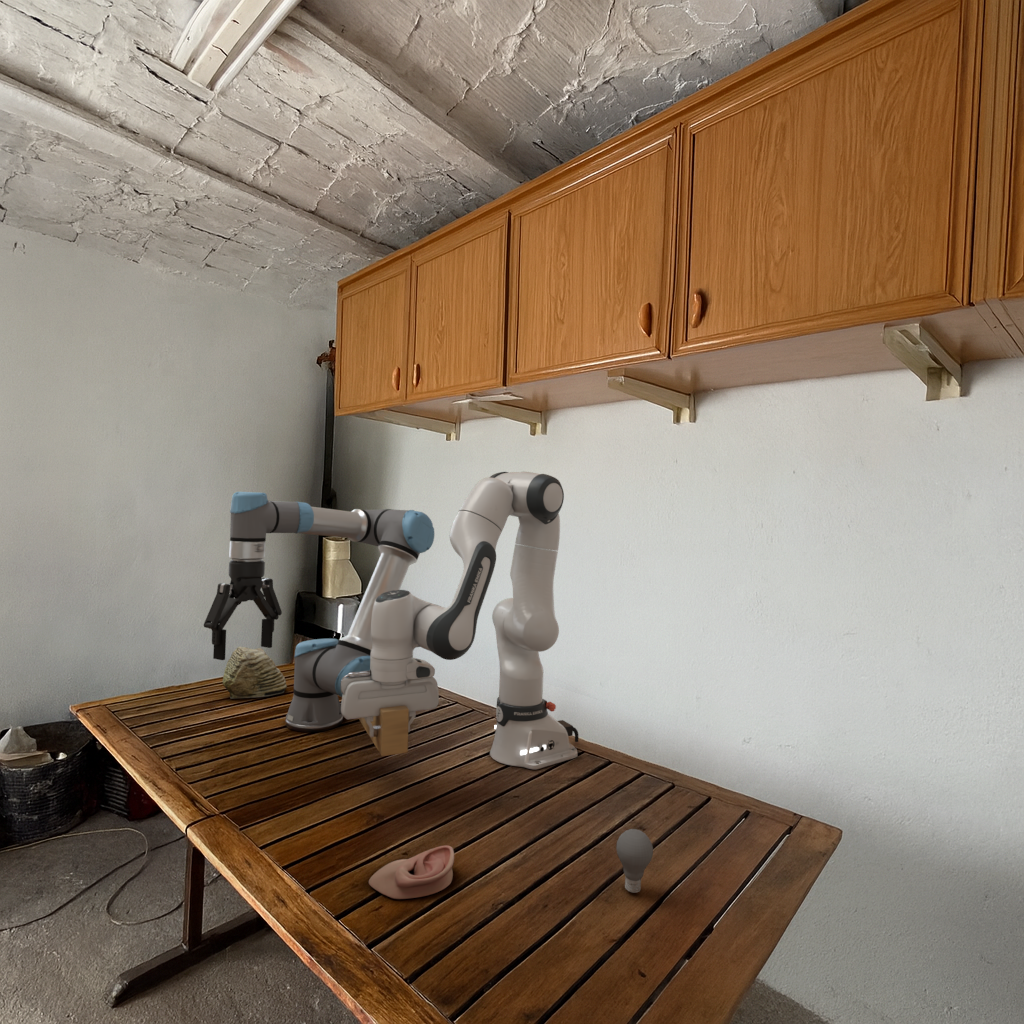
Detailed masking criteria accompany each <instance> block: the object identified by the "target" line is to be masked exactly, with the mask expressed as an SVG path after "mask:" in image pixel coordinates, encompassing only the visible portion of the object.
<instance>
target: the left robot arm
mask: <svg viewBox="0 0 1024 1024" xmlns="http://www.w3.org/2000/svg"><path fill="white" fill-rule="evenodd" d="M229 513H230V522H229V523H230V527H229V528H230V529H229V537H230V538H229V552H228V558H230V559H231V560H229V562H228V577H229V578H230V582H229V583H222V582H220V583H219V582H218V584H217V588H216V594H215V597H214V598H213V602H212V604H211V606H210V609H209V611H208V613H207V615H206V618H205V620H204V623H203V627H204V628H207V629H210V630H211V644H212V645H213V653H212V654H213V657H212V659H214V660H219V661H225V660H226V645H227V629H224V628H225V626H226V625H227V623H228V622H229V620H230V618H231V616H233V614H234V612H235V611H236V609H237V608H238V606H239V605H241V604H242V603H244V602H245V603H246V602H248V601H253V602H254V604H255V605H256V607H257V608H258V610H259V611H260V612H261V614H262V615H263V616H264V618H262V619H261V635H260V647H262V648H268V649H271V648H273V633H274V632H275V620H278V619H279V616H281V615H282V613H283V612H282V611H283V610H282V609H281V606H280V603H279V600H278V597H277V595H276V592H275V591H276V590H275V589H274V580H273V578H268V577H264V576H265V569H266V567H265V566H266V562H265V561H264V559H265V558H266V541H267V534H295V535H296V534H303V535H315V536H326V537H337V538H347V539H348V540H349V541H351V542H354V543H362V544H366V545H371V546H375V547H377V549H378V551H379V553H380V556H379V558H378V560H377V562H376V565H375V568H374V569H373V573H372V575H371V577H370V579H369V581H368V585H367V587H366V589H365V592H364V593H363V596H362V599H361V600H360V602H359V603H360V604H359V606H358V609H357V611H356V613H355V615H354V618H353V620H352V623H351V625H350V628H349V630H348V632H347V634H346V635H345V636H342V637H341V638H339V639H337V638H317V639H316V638H315V639H308V640H304V641H300V642H299V643H298V644H297V645H296V646H295V650H294V655H293V657H294V672H293V673H294V674H293V695H292V696H293V697H292V699H291V702H290V704H289V708H288V711H287V713H286V715H285V726H286V728H287V729H289V730H291V731H294V732H295V731H296V732H301V733H316V732H325V731H329V730H332V729H335V728H337V727H339V726H340V725H342V723H343V722H344V716H343V715H342V713H341V701H340V699H339V697H340V698H342V695H343V693H342V692H341V680H342V678H343V677H344V676H346V675H348V673H350V672H361V671H369V670H370V653H371V650H372V645H373V642H372V637H371V619H372V610H373V605H374V602H375V600H376V598H377V597H378V596H379V595H381V594H382V593H385V592H388V591H393V590H401V588H402V585H403V582H404V580H405V577H406V575H407V572H408V570H409V568H410V566H411V565H414V564H416V563H417V561H418V559H419V557H420V554H423V553H426V552H427V551H429V550H430V549H431V548H432V547H433V544H434V541H435V528H434V525H433V521H432V519H431V517H430V516H429V515H427V514H426V513H424V512H423V511H417V510H414V509H409V510H408V509H407V510H406V509H392V508H379V509H378V508H377V509H376V508H375V509H360V508H354V509H353V510H351V511H349V510H340V509H333V508H326V507H319V506H318V507H316V506H311V504H310V503H308V502H305V501H303V502H302V501H283V500H281V501H280V500H269V499H268V494H267V493H266V492H257V491H256V492H255V491H252V492H251V491H235V492H234V493H233V494H232V496H231V503H230V510H229ZM346 678H349V677H346Z"/></svg>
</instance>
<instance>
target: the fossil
mask: <svg viewBox="0 0 1024 1024" xmlns="http://www.w3.org/2000/svg"><path fill="white" fill-rule="evenodd" d="M222 676H223V677H222V685H223V687H224V688H225V690H226V691H228V693H229V698H230V699H250V698H264V697H271V696H275V695H281V694H284V693H285V691H286V689H287V687H288V686H287V680H286V678H285V676H284V674H283V673H282V672H281V669H279V668H278V667H277V665H276V663H275V662H274V660H273V659H272V658H271V657H270V656H269V655H268V654H267V653H266V652H265V650H264V649H263V648H260V647H258V648H251V647H247V646H246V647H245V646H238V647H237V648H236V649H235V650H233V651H232V653H231V656H230V657H229V659H228V660H227V663H226V666H225V668H224V671H223V675H222Z"/></svg>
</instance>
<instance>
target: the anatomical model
mask: <svg viewBox="0 0 1024 1024" xmlns="http://www.w3.org/2000/svg"><path fill="white" fill-rule="evenodd" d="M454 863H455V850H454V848H453V847H452V846H451V845H447V844H445V845H439V846H436V847H433V848H430V849H427V850H425V851H423V852H420V853H417V854H415V855H414V856H412V857H409V858H403V859H401V858H400V859H396V860H394V861H390V862H389V863H387V864H385V865H384V866H382V867H381V868H379V869H378V870H377V871H376V872H374V873H373V875H371V877H370V878H369V880H368V885H369V886H370V887H371V888H372V889H373V890H375V891H377V892H378V893H380V894H381V895H384V896H386V897H389V898H391V899H394V900H406V899H414V898H422V897H426V896H430V895H434V894H436V893H438V892H439V893H440V891H443V890H445V889H446V888H447V887H449V886H450V885H451V883H452V881H453V876H454V873H453V866H454Z"/></svg>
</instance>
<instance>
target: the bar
mask: <svg viewBox="0 0 1024 1024" xmlns="http://www.w3.org/2000/svg"><path fill="white" fill-rule="evenodd" d="M408 719H409V709H408V708H407V707H406V706H405V705H403V706H394V707H385V708H380V714H379V716H373V721H372V722H371V721H370V722H371V724H372V725H373V726H377V728H378V736H377V737H370V727H369V726H368V724H367V722H366V721H365V719H364V718H358V720H359V722H360V723H361V725H362V727H363V728H364V730H365V732H366V733H367V735H368V736H369V738H370V740H371V742H372V743H373V744H374V746H375V748H376V750H377V751H378V753H379V754H380V756H381V757H387V756H394V755H401V754H407V753H409V751H408V750H409V732H408Z"/></svg>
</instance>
